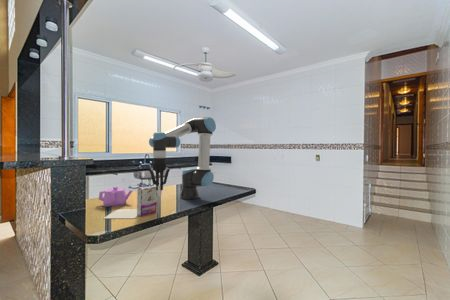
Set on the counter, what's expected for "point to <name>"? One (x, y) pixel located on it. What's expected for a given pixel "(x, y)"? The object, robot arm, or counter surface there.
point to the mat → (123, 214)
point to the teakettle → (114, 196)
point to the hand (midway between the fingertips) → (159, 195)
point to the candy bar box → (146, 200)
